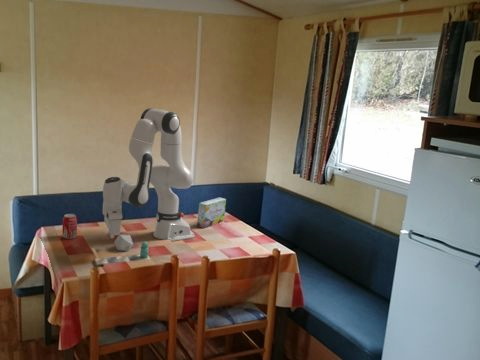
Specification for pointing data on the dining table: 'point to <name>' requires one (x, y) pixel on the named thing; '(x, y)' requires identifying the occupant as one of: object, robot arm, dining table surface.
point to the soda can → (69, 226)
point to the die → (123, 242)
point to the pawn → (144, 250)
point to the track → (101, 261)
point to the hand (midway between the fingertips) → (111, 237)
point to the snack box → (211, 212)
